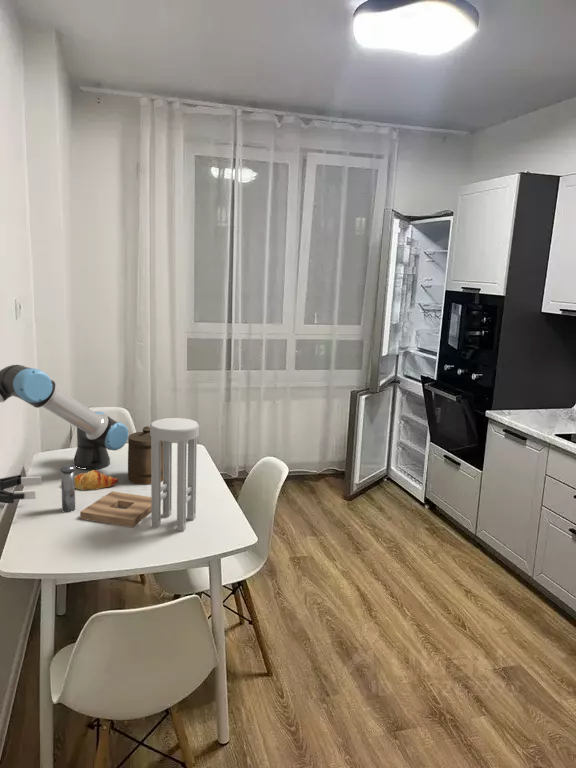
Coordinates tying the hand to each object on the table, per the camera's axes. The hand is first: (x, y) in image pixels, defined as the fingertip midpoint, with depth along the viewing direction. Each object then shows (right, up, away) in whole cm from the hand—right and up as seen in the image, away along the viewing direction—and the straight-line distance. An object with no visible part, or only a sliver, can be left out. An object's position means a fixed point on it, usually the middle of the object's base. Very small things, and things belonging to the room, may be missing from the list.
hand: (38, 487), depth 198 cm
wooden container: (+28, -3, +38) cm, 47 cm away
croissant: (+9, -5, +27) cm, 29 cm away
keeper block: (+28, -9, +5) cm, 29 cm away
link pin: (+9, -9, +4) cm, 13 cm away
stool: (+47, -12, -2) cm, 49 cm away
